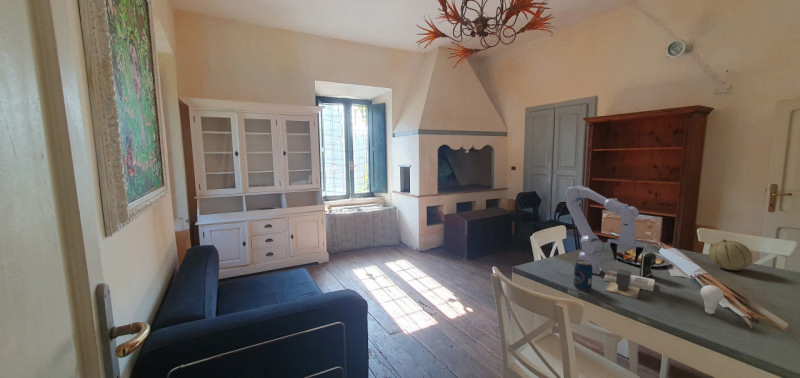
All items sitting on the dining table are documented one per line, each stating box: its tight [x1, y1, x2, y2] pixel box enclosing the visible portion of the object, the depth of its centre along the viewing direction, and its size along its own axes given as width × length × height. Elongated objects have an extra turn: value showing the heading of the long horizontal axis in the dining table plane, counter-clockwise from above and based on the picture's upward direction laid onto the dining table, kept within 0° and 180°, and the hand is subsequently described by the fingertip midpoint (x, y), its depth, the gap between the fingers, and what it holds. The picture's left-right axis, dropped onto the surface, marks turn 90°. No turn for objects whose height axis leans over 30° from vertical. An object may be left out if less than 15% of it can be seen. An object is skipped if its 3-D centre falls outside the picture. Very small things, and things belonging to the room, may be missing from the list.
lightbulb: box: [699, 284, 725, 315], centre depth 116 cm, size 6×6×11 cm
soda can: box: [573, 259, 593, 292], centre depth 140 cm, size 7×7×12 cm
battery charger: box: [639, 251, 657, 278], centre depth 150 cm, size 7×4×11 cm, turn 119°
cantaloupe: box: [709, 239, 753, 271], centre depth 157 cm, size 15×15×15 cm
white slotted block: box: [603, 270, 656, 292], centre depth 145 cm, size 18×10×3 cm, turn 48°
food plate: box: [611, 247, 671, 267], centre depth 172 cm, size 25×23×4 cm
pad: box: [605, 281, 641, 299], centre depth 137 cm, size 11×11×1 cm
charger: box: [616, 268, 632, 291], centre depth 137 cm, size 4×6×8 cm
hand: (625, 261), depth 146 cm, fingers open, 7 cm apart
